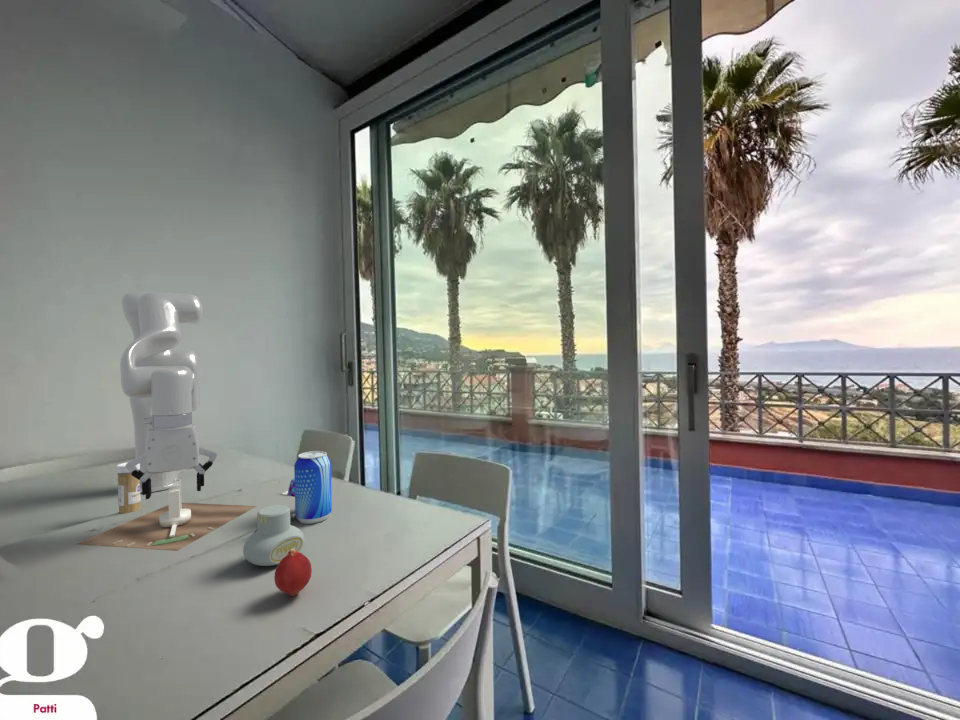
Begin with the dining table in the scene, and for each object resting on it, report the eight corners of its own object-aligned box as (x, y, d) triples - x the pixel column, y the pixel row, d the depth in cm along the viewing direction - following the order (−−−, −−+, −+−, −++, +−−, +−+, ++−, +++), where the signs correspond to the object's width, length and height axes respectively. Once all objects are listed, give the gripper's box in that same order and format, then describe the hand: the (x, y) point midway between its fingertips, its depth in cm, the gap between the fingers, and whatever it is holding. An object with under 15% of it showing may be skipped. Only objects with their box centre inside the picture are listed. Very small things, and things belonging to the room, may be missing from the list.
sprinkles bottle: (140, 516, 106) (138, 463, 106) (116, 520, 103) (114, 466, 103) (142, 510, 110) (140, 460, 109) (119, 514, 107) (118, 462, 107)
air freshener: (259, 577, 77) (258, 523, 77) (235, 565, 81) (234, 514, 81) (311, 552, 86) (310, 504, 86) (287, 543, 90) (286, 497, 90)
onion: (282, 586, 74) (281, 541, 74) (316, 584, 74) (315, 539, 74) (269, 606, 68) (268, 557, 68) (305, 604, 69) (304, 556, 68)
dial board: (174, 507, 111) (174, 501, 111) (256, 511, 108) (256, 505, 108) (76, 550, 88) (75, 543, 88) (177, 557, 84) (177, 549, 84)
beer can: (339, 514, 106) (337, 451, 105) (313, 527, 98) (311, 460, 98) (314, 509, 109) (313, 448, 109) (287, 521, 102) (286, 456, 101)
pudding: (276, 506, 113) (275, 487, 113) (282, 492, 124) (282, 474, 124) (323, 501, 116) (323, 482, 116) (325, 487, 128) (325, 470, 128)
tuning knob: (161, 520, 99) (160, 486, 99) (191, 514, 102) (190, 482, 102) (154, 540, 88) (153, 503, 88) (189, 533, 91) (187, 497, 91)
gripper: (121, 427, 90) (123, 506, 90) (216, 420, 99) (217, 491, 100) (127, 422, 96) (129, 495, 97) (216, 415, 105) (217, 482, 106)
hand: (174, 493), depth 98 cm, fingers open, 9 cm apart
